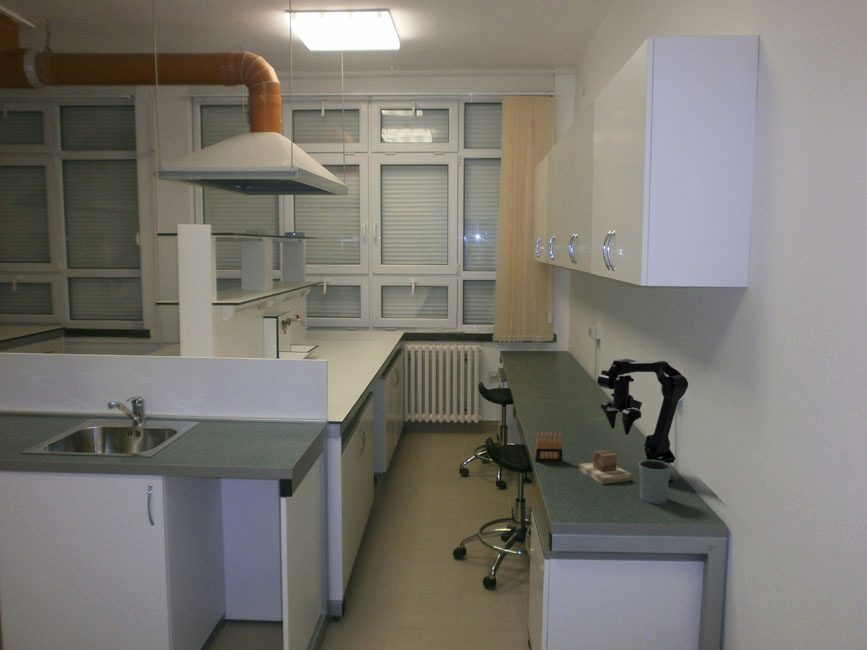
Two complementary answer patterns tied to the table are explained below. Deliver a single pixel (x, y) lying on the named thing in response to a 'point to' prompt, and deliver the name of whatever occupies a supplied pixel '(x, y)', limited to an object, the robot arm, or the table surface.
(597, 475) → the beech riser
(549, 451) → the ammunition clip
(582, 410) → the table surface
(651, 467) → the grey-blue cup
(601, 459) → the walnut cube
